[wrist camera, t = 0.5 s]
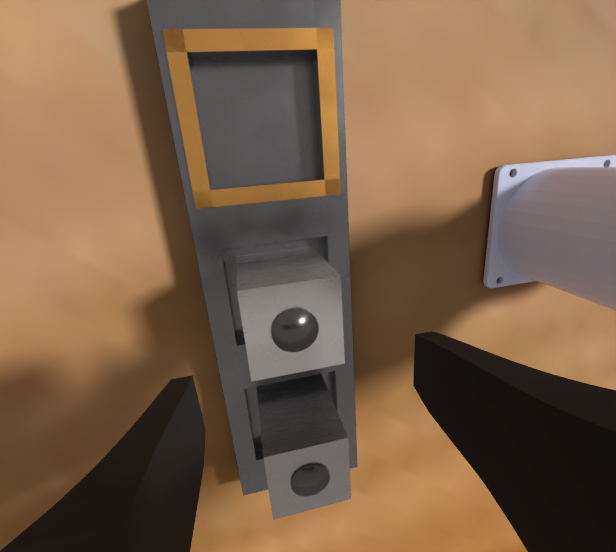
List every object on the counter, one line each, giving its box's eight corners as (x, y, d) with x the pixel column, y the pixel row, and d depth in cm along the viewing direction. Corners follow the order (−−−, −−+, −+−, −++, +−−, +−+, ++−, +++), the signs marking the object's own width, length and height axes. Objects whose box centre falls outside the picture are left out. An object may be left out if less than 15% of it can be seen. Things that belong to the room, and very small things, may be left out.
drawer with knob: (311, 246, 18) (341, 276, 13) (316, 313, 20) (345, 364, 15) (236, 255, 18) (236, 291, 13) (247, 324, 19) (251, 383, 14)
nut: (321, 372, 21) (349, 439, 16) (325, 424, 23) (351, 500, 17) (256, 385, 21) (263, 459, 15) (264, 437, 22) (273, 521, 17)
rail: (328, -4, 16) (340, -26, 14) (349, 446, 25) (358, 467, 23) (151, -6, 14) (139, -30, 13) (242, 472, 23) (243, 496, 22)
